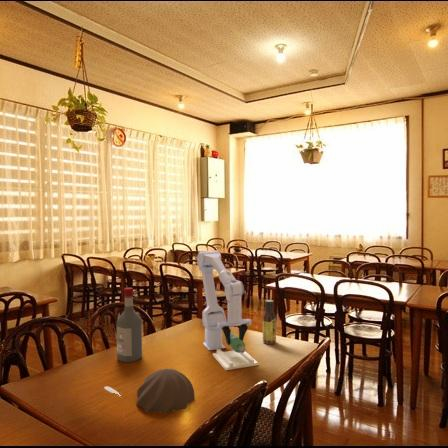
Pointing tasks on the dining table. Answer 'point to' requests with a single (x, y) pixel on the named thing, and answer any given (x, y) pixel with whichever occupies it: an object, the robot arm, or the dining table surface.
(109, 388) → the butter knife
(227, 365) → the bottle cradle
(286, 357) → the dining table surface
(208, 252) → the robot arm
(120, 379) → the dining table surface
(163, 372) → the decorative dome
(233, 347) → the green bottle
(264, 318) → the sauce bottle
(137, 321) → the liquor
